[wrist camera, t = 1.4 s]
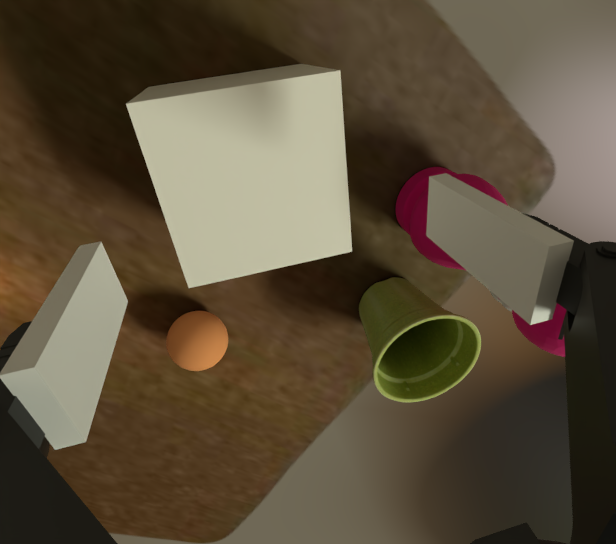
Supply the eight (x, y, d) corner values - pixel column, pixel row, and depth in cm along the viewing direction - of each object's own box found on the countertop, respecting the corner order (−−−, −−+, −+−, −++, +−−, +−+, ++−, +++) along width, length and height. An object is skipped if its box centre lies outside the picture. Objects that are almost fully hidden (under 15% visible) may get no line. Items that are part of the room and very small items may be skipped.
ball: (178, 349, 36) (174, 390, 31) (161, 307, 33) (155, 345, 29) (232, 336, 36) (235, 374, 32) (219, 293, 34) (221, 328, 30)
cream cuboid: (192, 229, 30) (188, 288, 23) (148, 86, 25) (125, 103, 18) (317, 203, 32) (352, 251, 24) (301, 63, 26) (340, 70, 19)
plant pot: (396, 348, 42) (437, 411, 35) (324, 326, 38) (353, 392, 31) (446, 279, 39) (503, 332, 32) (373, 248, 35) (418, 301, 28)
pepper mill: (473, 159, 33) (755, 276, 16) (455, 236, 37) (670, 397, 20) (395, 161, 31) (617, 294, 15) (384, 242, 35) (551, 422, 18)
